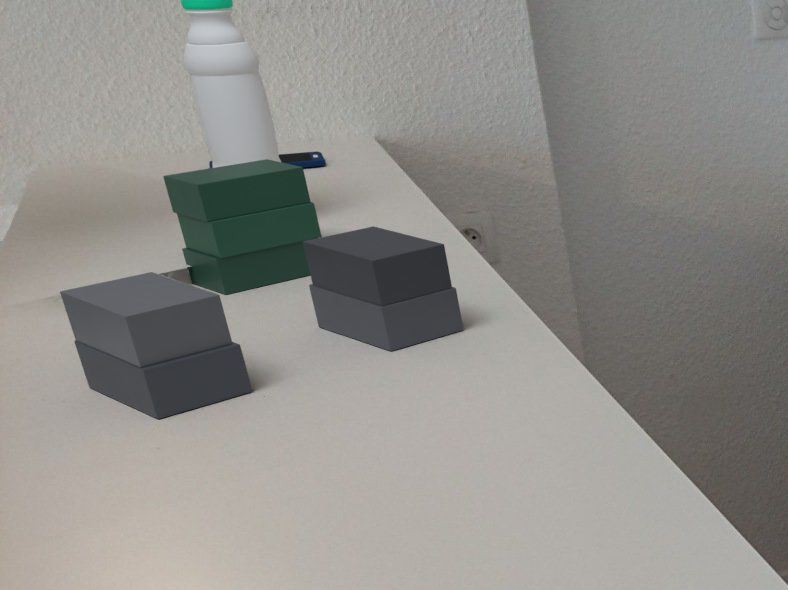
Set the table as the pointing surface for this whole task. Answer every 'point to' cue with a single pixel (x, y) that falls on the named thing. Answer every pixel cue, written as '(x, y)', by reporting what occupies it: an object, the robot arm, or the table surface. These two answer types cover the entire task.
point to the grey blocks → (210, 330)
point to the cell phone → (300, 159)
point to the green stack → (249, 248)
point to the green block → (237, 189)
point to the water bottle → (227, 87)
